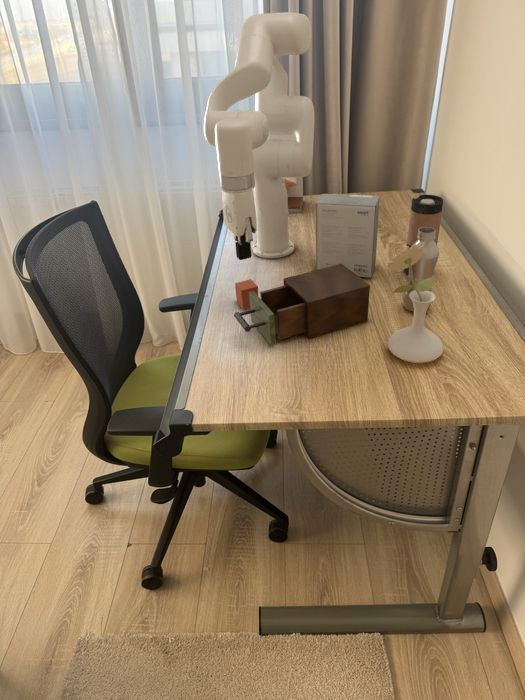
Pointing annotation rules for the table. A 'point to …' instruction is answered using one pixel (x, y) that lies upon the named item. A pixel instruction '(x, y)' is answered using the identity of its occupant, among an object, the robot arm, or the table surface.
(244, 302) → the block
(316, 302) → the cabinet
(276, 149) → the robot arm
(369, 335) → the table surface
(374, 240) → the hard drive box
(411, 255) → the flower in vase
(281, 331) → the drawer
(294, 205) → the display case
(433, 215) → the travel mug
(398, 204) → the table surface
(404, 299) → the metal bottle
